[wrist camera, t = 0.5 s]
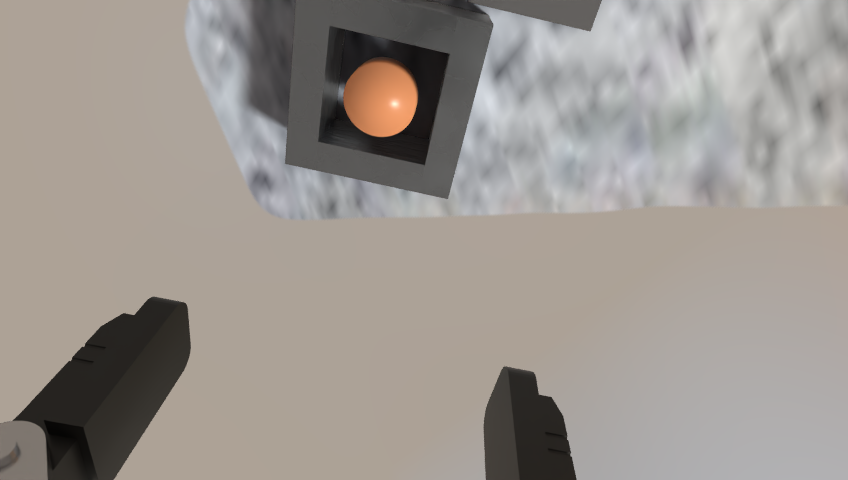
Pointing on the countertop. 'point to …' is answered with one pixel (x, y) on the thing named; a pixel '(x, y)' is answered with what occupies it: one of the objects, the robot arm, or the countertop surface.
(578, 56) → the countertop surface
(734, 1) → the countertop surface
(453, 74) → the frame
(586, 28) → the pad
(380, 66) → the orange dome
